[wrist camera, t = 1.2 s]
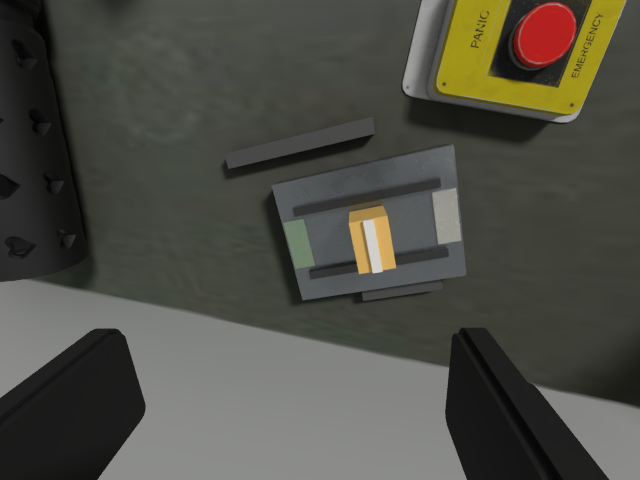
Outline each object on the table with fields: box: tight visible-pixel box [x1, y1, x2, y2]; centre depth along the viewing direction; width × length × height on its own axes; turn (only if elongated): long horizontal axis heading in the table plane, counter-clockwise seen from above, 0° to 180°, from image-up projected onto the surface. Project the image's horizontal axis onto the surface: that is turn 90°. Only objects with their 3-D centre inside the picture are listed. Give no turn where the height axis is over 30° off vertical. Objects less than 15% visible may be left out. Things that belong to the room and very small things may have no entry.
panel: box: [272, 144, 466, 300], centre depth 28 cm, size 16×12×3 cm
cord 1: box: [224, 117, 376, 169], centre depth 28 cm, size 14×1×1 cm, turn 103°
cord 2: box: [361, 279, 443, 301], centre depth 31 cm, size 8×1×1 cm, turn 103°
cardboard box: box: [349, 205, 396, 274], centre depth 25 cm, size 3×4×4 cm
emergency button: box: [402, 0, 627, 123], centre depth 23 cm, size 9×4×15 cm
